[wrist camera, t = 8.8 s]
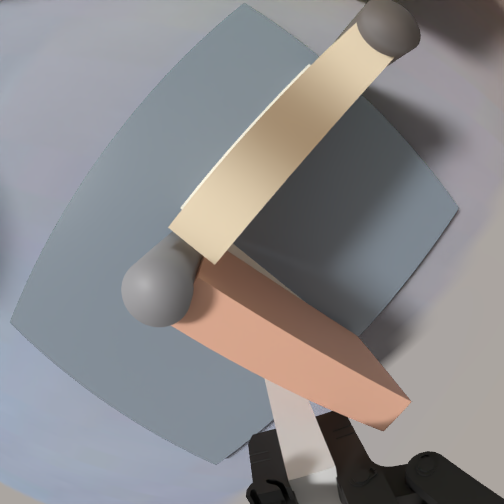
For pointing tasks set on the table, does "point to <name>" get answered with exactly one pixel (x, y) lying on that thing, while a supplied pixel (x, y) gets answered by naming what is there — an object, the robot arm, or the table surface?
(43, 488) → the table surface
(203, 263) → the salmon gate panel
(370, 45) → the rail
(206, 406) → the card
